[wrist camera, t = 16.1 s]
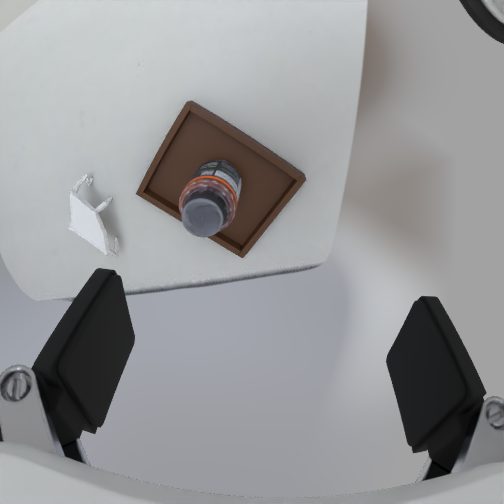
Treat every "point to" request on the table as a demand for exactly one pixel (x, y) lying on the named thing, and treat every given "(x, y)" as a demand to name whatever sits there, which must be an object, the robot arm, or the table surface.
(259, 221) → the serving tray
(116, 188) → the table surface
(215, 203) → the supplement bottle
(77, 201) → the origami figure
